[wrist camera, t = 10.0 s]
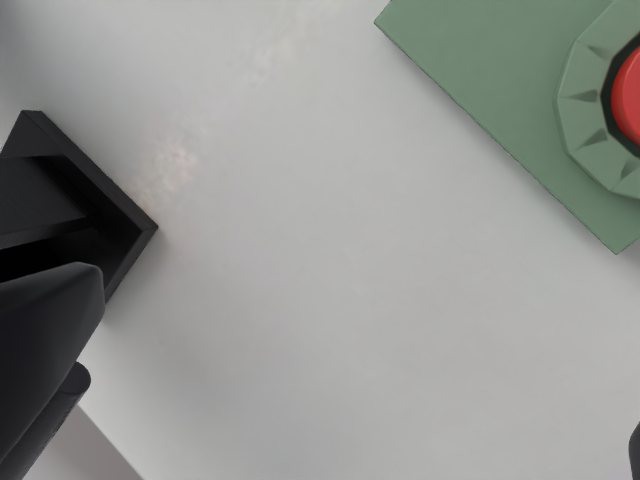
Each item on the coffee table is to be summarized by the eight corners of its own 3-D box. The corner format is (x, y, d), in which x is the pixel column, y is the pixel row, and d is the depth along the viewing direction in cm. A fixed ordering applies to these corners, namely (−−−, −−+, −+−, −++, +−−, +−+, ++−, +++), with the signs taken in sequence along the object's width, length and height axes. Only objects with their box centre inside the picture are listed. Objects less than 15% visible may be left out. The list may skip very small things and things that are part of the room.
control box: (858, 58, 16) (945, 40, 13) (612, 250, 20) (633, 274, 16) (567, -191, 17) (580, -264, 14) (382, 30, 21) (359, 12, 18)
